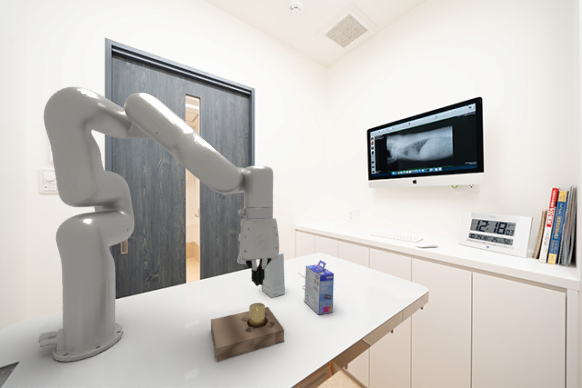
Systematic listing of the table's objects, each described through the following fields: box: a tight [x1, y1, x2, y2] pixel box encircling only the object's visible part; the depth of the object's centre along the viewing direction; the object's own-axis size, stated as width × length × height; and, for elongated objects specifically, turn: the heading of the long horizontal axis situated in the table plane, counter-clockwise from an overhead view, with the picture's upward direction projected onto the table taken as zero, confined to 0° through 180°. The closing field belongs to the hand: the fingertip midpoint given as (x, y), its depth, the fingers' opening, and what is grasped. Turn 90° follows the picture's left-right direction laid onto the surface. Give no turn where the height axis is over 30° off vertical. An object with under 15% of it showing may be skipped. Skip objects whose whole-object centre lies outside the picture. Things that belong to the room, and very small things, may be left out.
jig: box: [210, 306, 285, 362], centre depth 58 cm, size 16×12×3 cm
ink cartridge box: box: [304, 259, 335, 316], centre depth 73 cm, size 10×6×14 cm, turn 24°
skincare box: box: [261, 251, 286, 298], centre depth 83 cm, size 8×6×15 cm
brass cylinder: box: [248, 302, 266, 328], centre depth 59 cm, size 4×4×7 cm
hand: (257, 283), depth 59 cm, fingers closed
